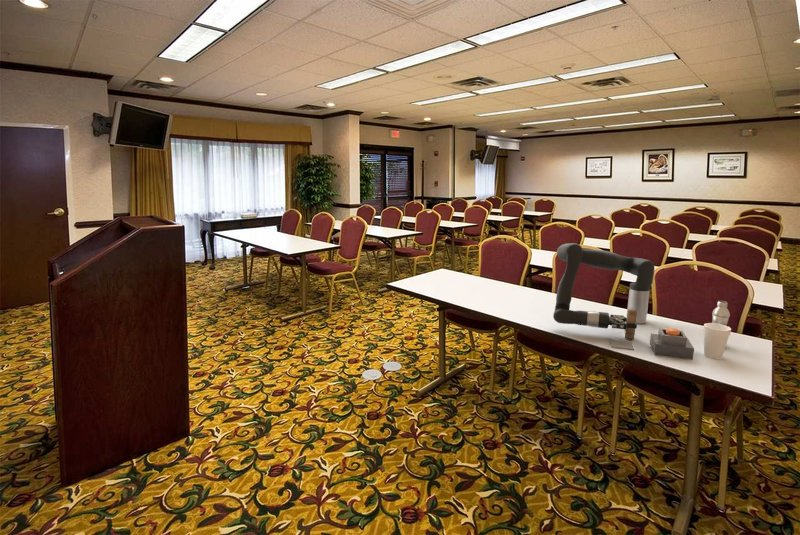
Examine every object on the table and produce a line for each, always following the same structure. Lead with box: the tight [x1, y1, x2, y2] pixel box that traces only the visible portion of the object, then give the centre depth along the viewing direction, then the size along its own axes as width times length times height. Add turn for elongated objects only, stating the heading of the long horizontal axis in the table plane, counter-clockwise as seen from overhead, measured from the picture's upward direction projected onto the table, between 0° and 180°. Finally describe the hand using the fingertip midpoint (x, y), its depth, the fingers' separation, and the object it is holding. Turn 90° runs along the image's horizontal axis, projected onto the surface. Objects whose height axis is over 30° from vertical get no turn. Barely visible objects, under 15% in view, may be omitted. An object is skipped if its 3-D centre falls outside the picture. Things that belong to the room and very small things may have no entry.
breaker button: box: [665, 327, 681, 336], centre depth 192 cm, size 5×5×2 cm
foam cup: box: [702, 322, 732, 360], centre depth 187 cm, size 10×9×13 cm
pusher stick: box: [624, 308, 637, 341], centre depth 208 cm, size 4×4×14 cm
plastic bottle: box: [711, 300, 731, 326], centre depth 200 cm, size 6×7×20 cm
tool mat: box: [609, 338, 635, 351], centre depth 201 cm, size 10×9×1 cm
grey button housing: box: [649, 328, 695, 361], centre depth 193 cm, size 14×14×8 cm
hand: (635, 323), depth 207 cm, fingers open, 8 cm apart
